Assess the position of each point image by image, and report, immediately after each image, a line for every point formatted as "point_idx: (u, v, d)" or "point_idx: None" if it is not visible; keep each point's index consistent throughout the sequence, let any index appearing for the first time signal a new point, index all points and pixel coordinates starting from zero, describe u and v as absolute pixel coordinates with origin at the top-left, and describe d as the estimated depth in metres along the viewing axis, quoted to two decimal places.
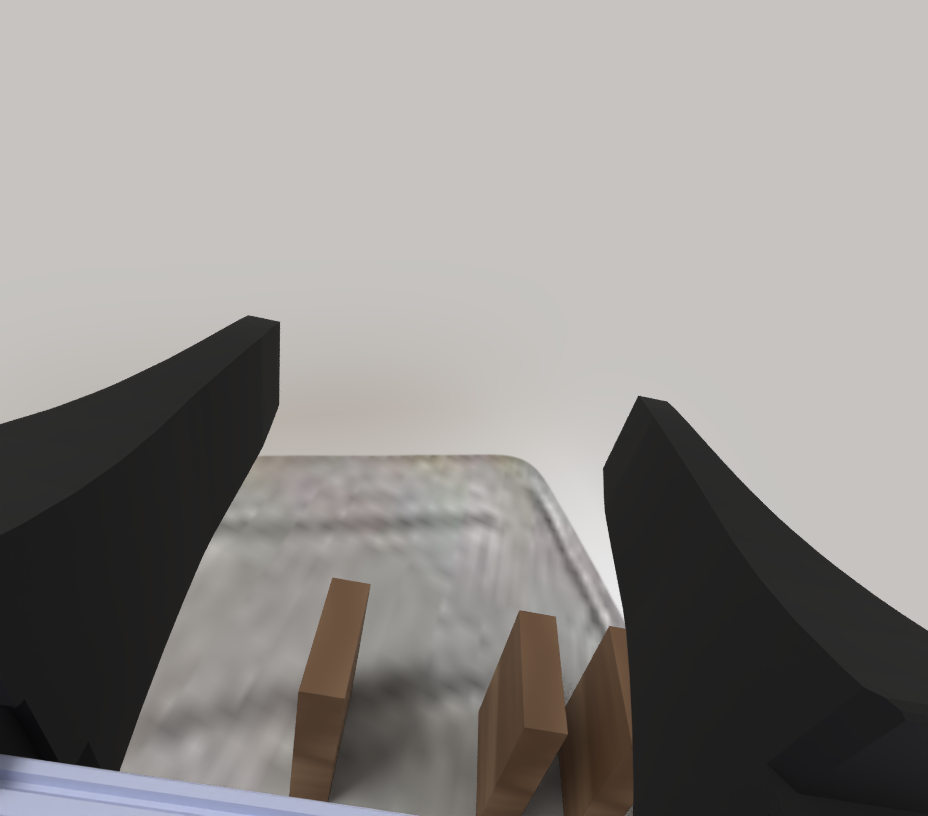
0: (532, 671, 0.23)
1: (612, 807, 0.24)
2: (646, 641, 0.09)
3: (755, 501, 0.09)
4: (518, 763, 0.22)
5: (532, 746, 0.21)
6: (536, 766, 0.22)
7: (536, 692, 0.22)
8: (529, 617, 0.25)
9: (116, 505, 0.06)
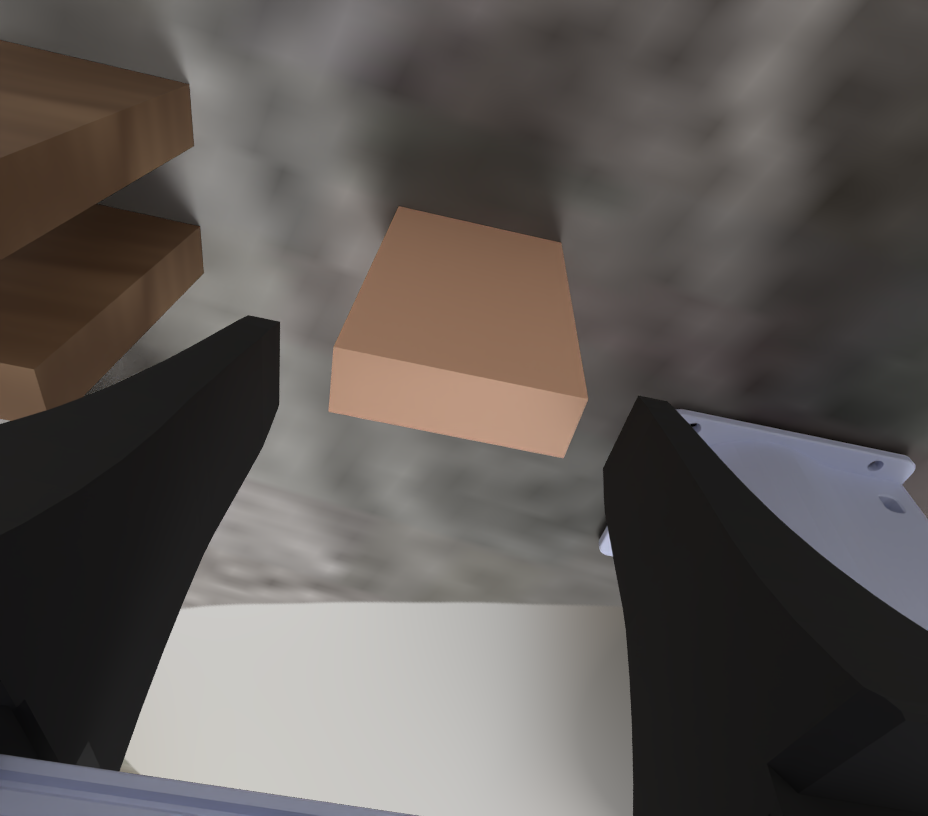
0: None
1: (129, 140, 0.14)
2: (646, 641, 0.09)
3: (755, 501, 0.09)
4: (109, 352, 0.15)
5: (77, 376, 0.13)
6: (105, 327, 0.14)
7: None
8: None
9: (116, 505, 0.06)
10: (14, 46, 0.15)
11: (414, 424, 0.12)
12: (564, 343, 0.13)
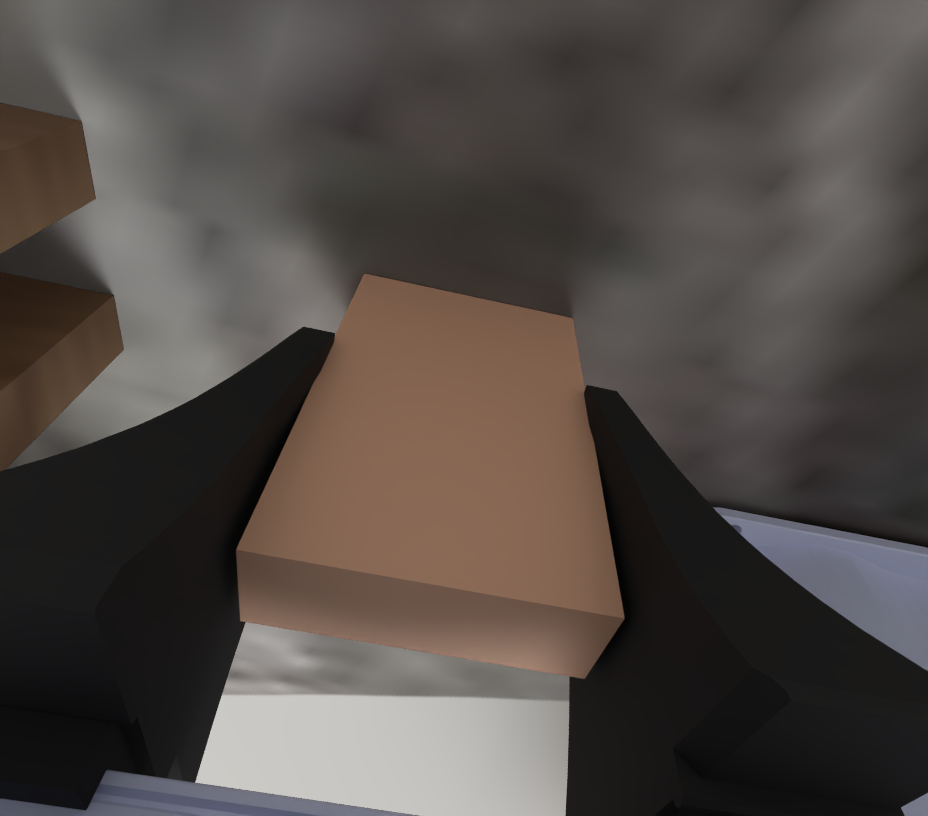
0: None
1: None
2: None
3: (688, 488, 0.09)
4: None
5: None
6: None
7: None
8: None
9: (210, 522, 0.07)
10: None
11: (366, 637, 0.08)
12: (584, 502, 0.09)
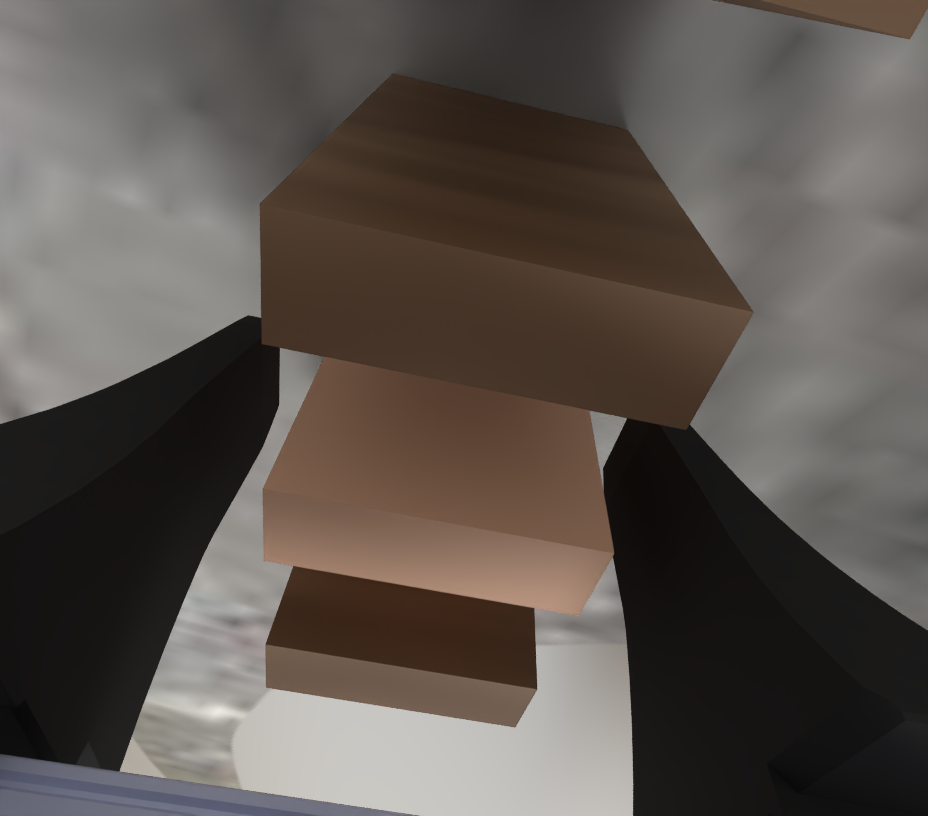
0: (511, 362, 0.07)
1: None
2: (646, 641, 0.09)
3: (755, 501, 0.09)
4: None
5: None
6: None
7: (587, 370, 0.07)
8: (286, 315, 0.06)
9: (116, 505, 0.06)
10: None
11: (379, 576, 0.09)
12: (578, 456, 0.10)
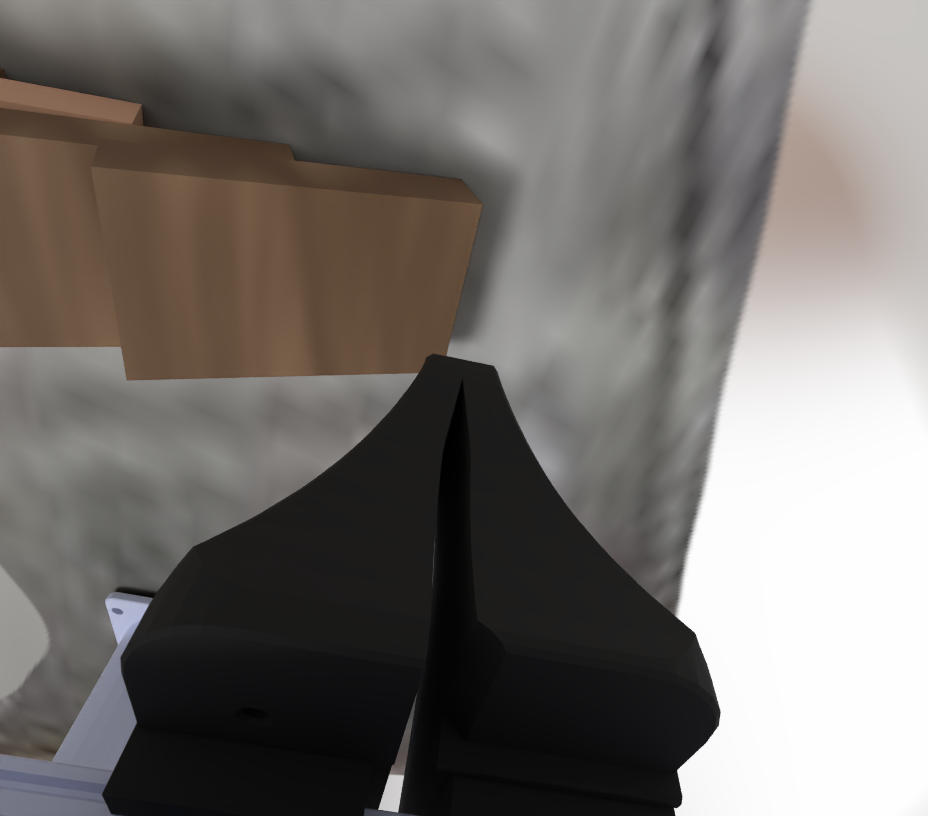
0: None
1: None
2: (434, 604, 0.09)
3: (527, 456, 0.08)
4: None
5: None
6: None
7: None
8: None
9: None
10: (468, 227, 0.14)
11: None
12: None
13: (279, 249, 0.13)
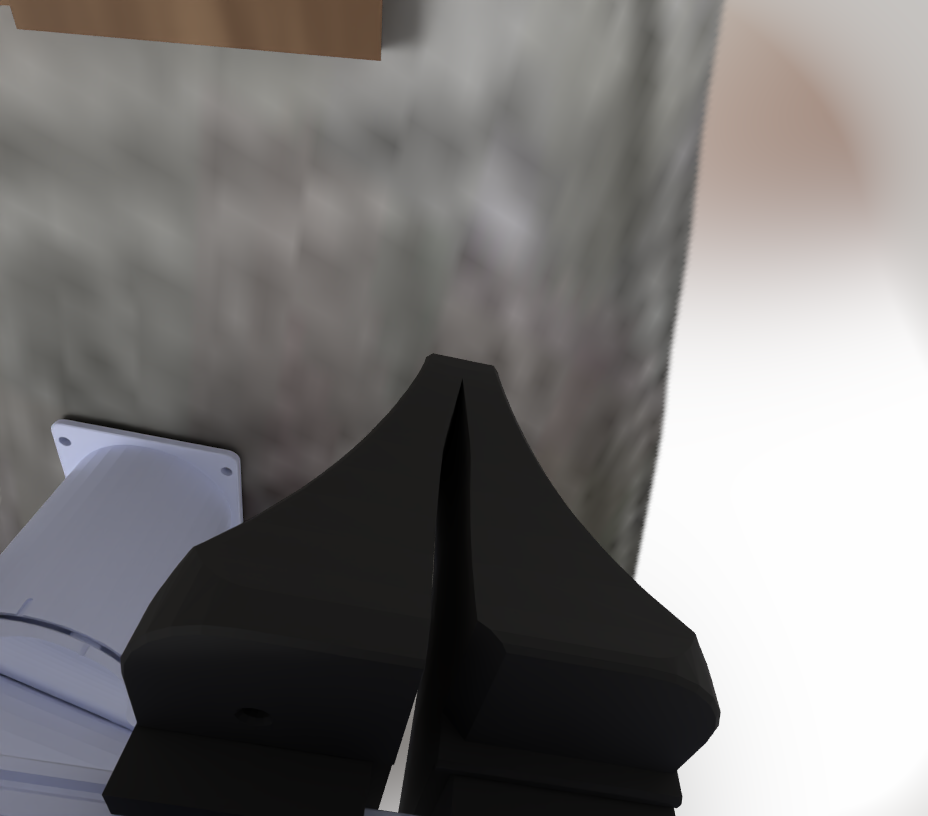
0: None
1: None
2: (434, 604, 0.09)
3: (527, 457, 0.08)
4: None
5: None
6: None
7: None
8: None
9: None
10: None
11: None
12: None
13: None
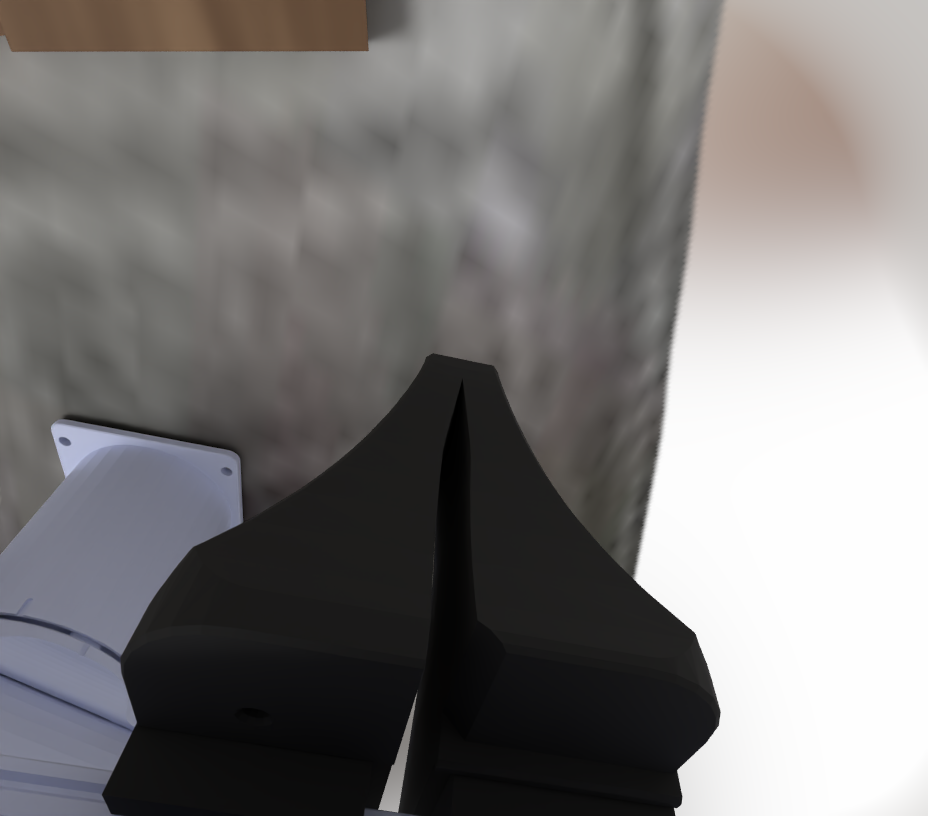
0: None
1: None
2: (434, 604, 0.09)
3: (527, 456, 0.08)
4: None
5: None
6: None
7: None
8: None
9: None
10: None
11: None
12: None
13: None
